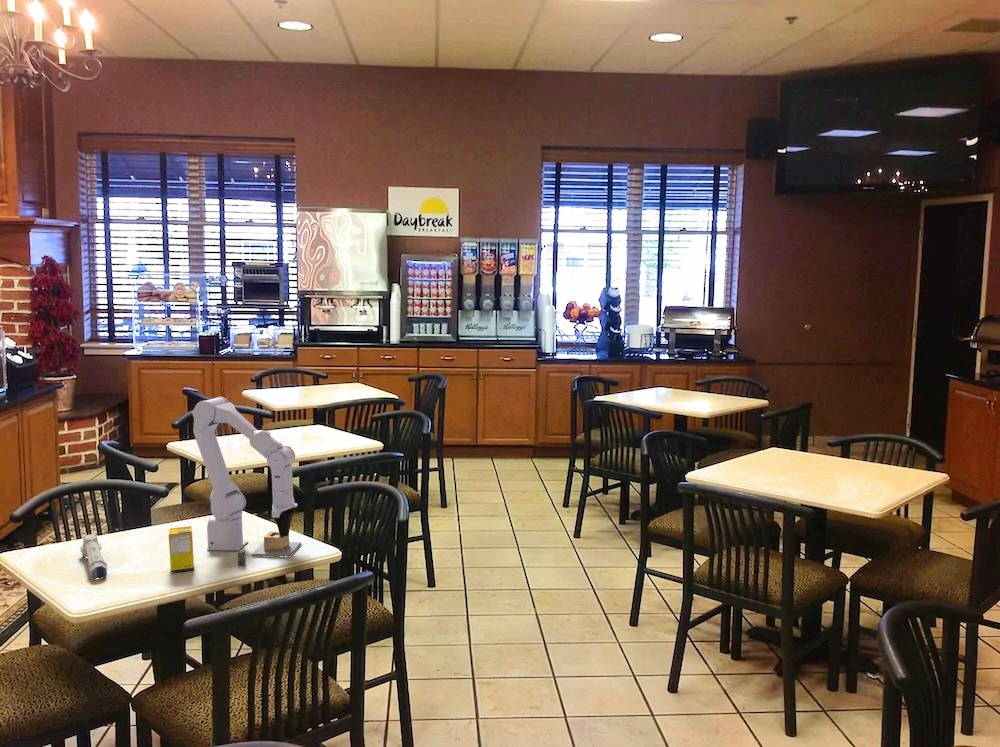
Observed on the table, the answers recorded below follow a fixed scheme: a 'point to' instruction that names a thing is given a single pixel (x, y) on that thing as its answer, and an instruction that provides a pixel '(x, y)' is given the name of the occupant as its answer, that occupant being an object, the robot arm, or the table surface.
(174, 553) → the supplement box
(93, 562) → the white flashlight
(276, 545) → the open wooden box
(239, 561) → the stand rod
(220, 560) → the table surface
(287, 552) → the hub plate
